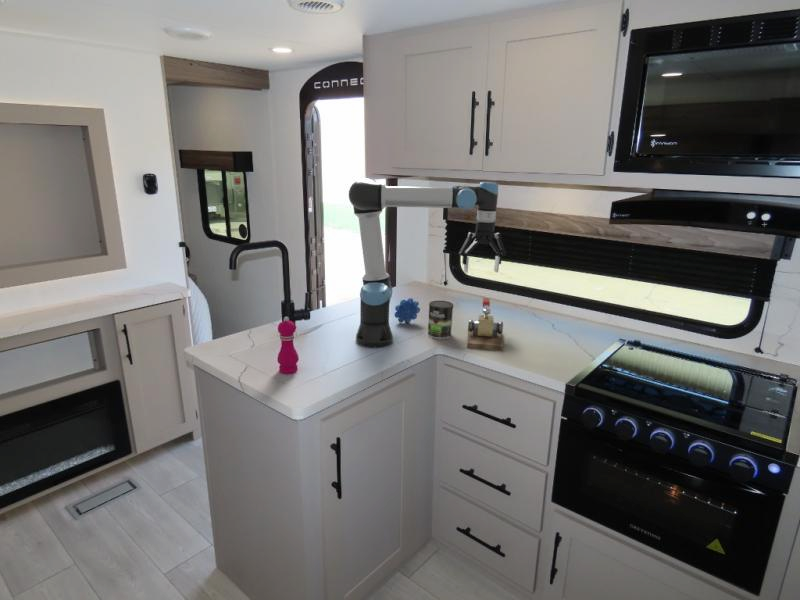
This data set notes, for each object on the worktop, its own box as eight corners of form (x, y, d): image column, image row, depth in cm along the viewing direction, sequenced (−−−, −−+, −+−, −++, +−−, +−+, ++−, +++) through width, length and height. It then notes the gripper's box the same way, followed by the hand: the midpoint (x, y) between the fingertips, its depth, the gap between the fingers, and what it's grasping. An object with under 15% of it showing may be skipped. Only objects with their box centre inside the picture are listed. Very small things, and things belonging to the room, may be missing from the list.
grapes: (419, 320, 227) (420, 295, 223) (419, 325, 220) (420, 299, 217) (394, 319, 227) (395, 295, 223) (394, 324, 220) (394, 299, 217)
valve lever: (490, 314, 200) (490, 309, 199) (482, 314, 200) (483, 308, 199) (489, 303, 214) (489, 298, 214) (482, 303, 215) (482, 298, 214)
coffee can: (446, 341, 203) (447, 308, 198) (423, 336, 207) (425, 304, 203) (455, 333, 211) (457, 302, 207) (433, 329, 216) (435, 298, 212)
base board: (467, 347, 196) (467, 343, 196) (467, 330, 215) (468, 326, 215) (502, 350, 194) (502, 345, 194) (500, 333, 213) (500, 328, 213)
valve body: (467, 336, 202) (469, 314, 199) (467, 331, 208) (469, 309, 205) (501, 339, 200) (504, 316, 197) (501, 334, 206) (503, 312, 203)
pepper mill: (300, 366, 175) (298, 313, 169) (297, 374, 168) (295, 320, 162) (280, 365, 175) (277, 313, 169) (276, 374, 168) (273, 320, 162)
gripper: (459, 221, 191) (455, 274, 197) (518, 222, 197) (512, 273, 203) (453, 219, 198) (449, 269, 204) (510, 220, 204) (504, 269, 210)
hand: (480, 271), depth 204 cm, fingers open, 13 cm apart
